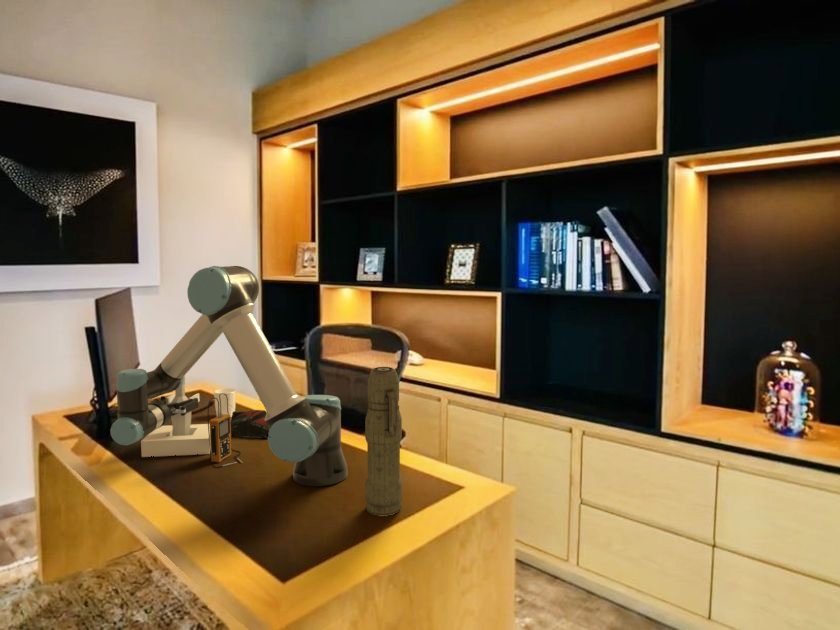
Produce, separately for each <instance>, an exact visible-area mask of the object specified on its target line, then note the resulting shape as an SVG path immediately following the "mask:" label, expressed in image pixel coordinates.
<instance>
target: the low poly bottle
mask: <svg viewBox="0 0 840 630" xmlns="http://www.w3.org/2000/svg"><path fill="white" fill-rule="evenodd" d="M185 384H186V375H185V376H184V380H183V384H182V385H181V386H180V387H179V388H178V389H176V390H174V391H175V392H174V393H175V397H174V399H173V400H172V401H171V403H179V402H183V401H186V400H188V398H189V397H187V396H186V388H185V387H186V386H185ZM171 403H170V404H171ZM170 419H171V425H172V427H173V433H174V436H187V435H190V425H192V411H190V412H188V413H186V415H184V416H181V414H180V413H178V414H175V415H174V416H171V417H170Z"/></svg>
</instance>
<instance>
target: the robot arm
mask: <svg viewBox="0 0 840 630" xmlns="http://www.w3.org/2000/svg"><path fill="white" fill-rule="evenodd" d="M186 290H187V298H188V302H189V304H190V306H191V307H192V309H193V310H194V311H196V312H197V313H198V314H199V313H200V314H201V315H200V316H199V317H198V319H197V320H196V321H195V322H194V323H193V325H192V326H191V327H190V328H189V329H188V330H187V331H186V333H184V334H183V336H182V337H181V338H180V339H179V341H178V342H177V343H175V346H174V347H173V348H172V349H171V350H170V351H169V353H168V354H167V355H166V356H165V357H164V358H163V359H162V360H161V362H160V363H159V364H158V365H157V366H156V368H154V369H153V370H151V371H146V370H145V369H144V368H129V369H124V370H120V371H119V372H118V373H117V374H116V383H115V384H116V385H115V390H116V400H117V401H116V403H117V405H116V406H117V419H116V420H115V421H114V422H113V423H112V424H111V427H110V430H109V431H110V436H111V438H112V440H114V442H115V443H117V444H118V445H121V446H129V445H132V444H134V443H137V442H139V441H142V440H143V439H144V438H145V437H146V436H147V435H148V434H149V433H151V432H153V431H154V430H156V429H158V428H160V427H161V426H166V424H167V423H168V422H169V421H170V419H171V416H174V415H175V414H178V413H180V414H181V416H184V415H186V413H188V412H190V411H191V412H192V411H195V410H196V409H197V408H199V402H200V401H201V400H200V393H195V394H194V395H192V396H190V397H187V398H188V400H186V401H183V402H179V403H171V401H172V400H173V399H174V397H175V392H174V391H175V390H176V389H178V388H179V387H180V386H181V385H182V384H183V380H184V376H185V377H186V375H187V373H189V371H191V369H192V368H193V367H194V366H195V364H197V362H198V361H199V360H200V359H201V358H202V357H203V355H204V354H205V353H206V352H207V351H208V350H209V349H210V348H211V347H212V345H213V344H214V343H215V342H216V341H217V340H218V338H219V337H221V336H222V334H223V335H224V336H225V339H226V340H227V342H228V344H229V345H230V348H231V350H233V353H234V354H235V356H236V358H237V360H238V363H239V364H240V366H241V368H242V369H243V371H244V373H245V375H246V376H247V378H248V380H249V382H250V383H251V386H252V387H253V390H254V391H255V392H256V395H257V396H258V398H259V400H260V402H261V403H262V405H263V407H264V410H265V411H266V412H267V413H266V417H265V422H266V424H267V425H268V427H269V429H270V430H269V433H268V435H267V436H268V438H267V443H268V446H269V449H270V451H271V452H272V453H273V454H274V456H276V457H277V458H278V459H280V460H282V461H285V462H288V463H295V464H294V466H293V468H292V469H293V471H292V478H293V481H294V482H296V484H299V485H301V486H307V487H324V486H331V485H336V484H338V483H341V482H342V481H344V480H345V479H346V478H347V477H348V475H349V474H348V464H347V461H346V459H345V456H344V453H343V450H342V437H341V436H342V431H341V430H342V423H341V422H342V418H341V417H342V413H341V412H342V407H341V400H340V398H339V397H338V396H334V395H331V394H330V395H329V394H307V395H306V394H305V395H300V394H298V393H297V392H296V390H295V387H294V386H293V383H292V382H291V381H290V379H289V378H288V376H287V374H286V371H285V370H284V368H283V366H282V364H281V362H280V361H279V359H278V357H277V355H276V353H275V352H274V350H273V348H272V347H271V345H270V343H269V341H268V339H267V337H266V336H265V334H264V332H263V330H262V329H261V327H260V324H259V322H258V321H257V319H256V318H255V315H254V314H253V313H254V312H253V311H254V309H255V304H254V303H255V302H256V301H257V299H258V296H259V292H260V285H259V281H258V279H257V276H256V275H255V274H254V273H253V272H252V271H251V270H250V269H248V268H246V267H243V266H240V265H230V266H217V265H213V266H209V267H204V268H201V269H199V270H198V271H196V272H195V273H194V274H193V275H192V277H191V278H190V280H189V283H188V286H187V289H186ZM172 392H174V393H172ZM169 393H172V394H171V395H169V396H167V397H166V396H165V394H169ZM158 397H160V400H159V398H158ZM152 399H153V400H152ZM149 400H151V401H150V402H149ZM170 403H171V404H170Z"/></svg>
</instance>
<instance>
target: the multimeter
mask: <svg viewBox="0 0 840 630" xmlns="http://www.w3.org/2000/svg"><path fill="white" fill-rule="evenodd" d="M221 394H224V393H221ZM221 394H219V399H220V395H221ZM224 395H226V394H224ZM226 397H227V395H226ZM215 399H217V398H215V397H211V398H210V400H209V402H208V406H207V424H208V433H209V424H210V434H209V448H210V445H211V449H210V454H209V458H210V459H209V460H210V463H211V466H212V467H213V468H216V469H219V468H222V467H223V468H225V467H227V466H232V465H233V464H237V463H238V462H240V463H242V464H243V463H244V462H243V461H242V459H240V458H239V457H238V456H240V455H241V454H242V452H241V451H239V450H234V449H233V448H232V436H231V424H230V422H231V418H230V415H229V413H228V414H222V412H221V399H220V410H219V401H218V399H217V401H218V416H217V415H216V416H215V417H214V418H211V419H210V418H209V411H210V410H209V409H210V403H211V401H212V400H215ZM227 411H228V398H227ZM232 451H233V452H237V453H238V454H236V455H234V458H235V459H236V460H237V461H235V462H230V463H226V464H223V465H221V466H215V465H214V464H213V463H221V462H223V461H224V460H225V459H227V458H228V457H231V455H232Z"/></svg>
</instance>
